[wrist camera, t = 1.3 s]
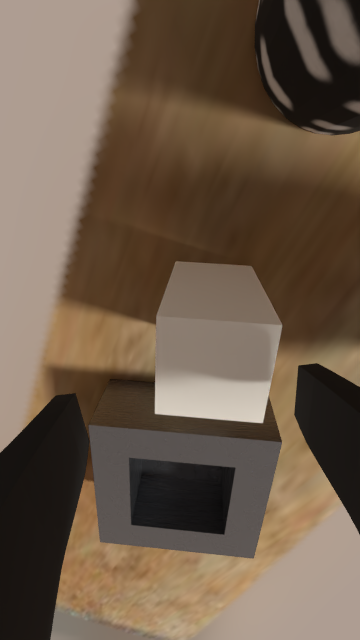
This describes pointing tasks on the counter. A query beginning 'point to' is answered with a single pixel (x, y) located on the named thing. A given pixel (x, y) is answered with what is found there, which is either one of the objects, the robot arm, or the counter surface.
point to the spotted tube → (311, 61)
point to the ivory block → (215, 343)
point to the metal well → (179, 475)
